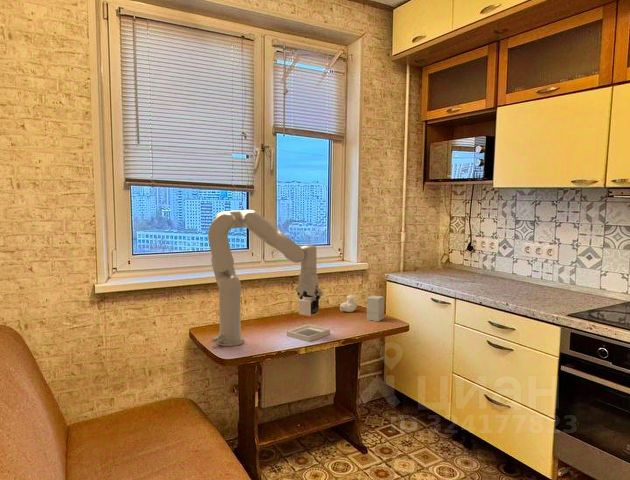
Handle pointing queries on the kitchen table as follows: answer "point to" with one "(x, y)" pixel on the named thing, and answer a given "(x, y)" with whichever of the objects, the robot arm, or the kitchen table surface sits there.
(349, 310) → the bust
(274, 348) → the kitchen table surface
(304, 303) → the medicine bottle
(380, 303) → the supplement box
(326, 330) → the tray
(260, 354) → the kitchen table surface
